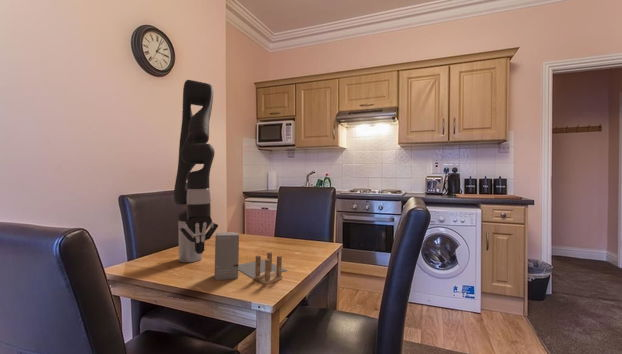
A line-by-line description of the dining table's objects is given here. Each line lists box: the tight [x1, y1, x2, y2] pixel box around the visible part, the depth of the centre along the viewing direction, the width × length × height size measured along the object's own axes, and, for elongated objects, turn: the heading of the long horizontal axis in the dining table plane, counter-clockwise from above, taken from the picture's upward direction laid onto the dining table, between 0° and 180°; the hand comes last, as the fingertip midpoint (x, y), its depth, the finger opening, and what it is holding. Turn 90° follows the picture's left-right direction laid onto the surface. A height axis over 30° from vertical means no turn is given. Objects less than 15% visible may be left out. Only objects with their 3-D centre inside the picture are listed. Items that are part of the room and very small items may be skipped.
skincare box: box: [214, 231, 240, 282], centre depth 106 cm, size 8×7×16 cm
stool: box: [253, 251, 283, 285], centre depth 103 cm, size 7×7×8 cm
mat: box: [238, 259, 288, 280], centre depth 115 cm, size 18×14×1 cm
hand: (199, 253), depth 100 cm, fingers closed
